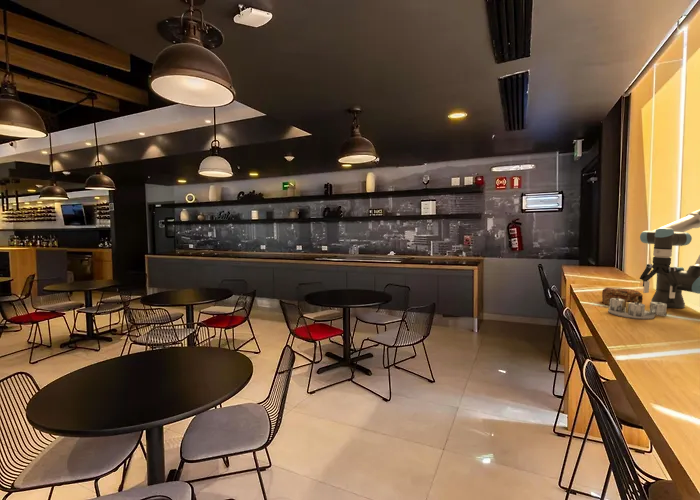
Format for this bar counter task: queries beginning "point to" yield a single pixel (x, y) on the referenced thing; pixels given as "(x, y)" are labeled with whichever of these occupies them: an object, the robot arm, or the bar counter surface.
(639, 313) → the carrier
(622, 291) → the bread
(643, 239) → the robot arm
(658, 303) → the planet gear
